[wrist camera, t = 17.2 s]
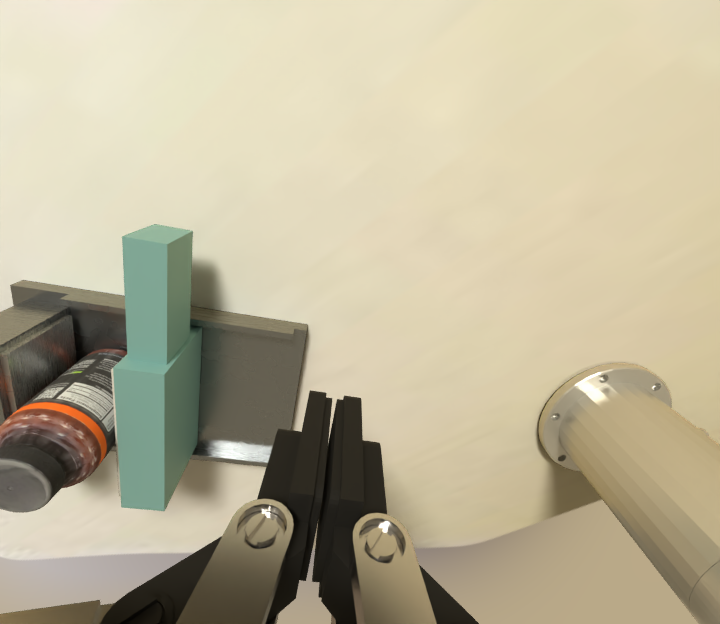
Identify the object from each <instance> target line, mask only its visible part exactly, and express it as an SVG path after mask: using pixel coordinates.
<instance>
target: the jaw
mask: <svg viewBox="0 0 720 624" xmlns="http://www.w3.org/2000/svg"><path fill="white" fill-rule="evenodd" d="M192 237H193V231H190V230H184V229H179V228H173V227H168V226H162V225H157V224H154V225H151V226H149V227H146V228H143V229H141V230H138V231H135V232H133V233H130V234H127V235H125V236H122V242H123V265H124V288H125V311H126V334H127V355H126V356H125V357H124V358H123V359H122V360H121V361H120V362H119V363H117V364H116V365H115V366H114V367H113V368H112V369H111V376H112V392H113V408H114V423H115V439H116V455H117V470H118V486H119V496H121V507H123V508H135V509H146V510H158V511H165V509H166V507H167V505H168V503H169V501H170V499H171V497H172V495H173V493H174V490H175V488H176V486H177V484H178V482H179V480H180V478H181V476H182V474H183V472H184V470H185V468H186V466H187V464H188V462H189V460H190V458H191V456H192V454H193V451H194V449H195V447H196V445H197V441H198V417H199V394H200V370H201V347H202V327H201V326H194V325H190V307H191V272H192Z"/></svg>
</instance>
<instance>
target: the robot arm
mask: <svg viewBox="0 0 720 624" xmlns="http://www.w3.org/2000/svg"><path fill="white" fill-rule="evenodd" d="M331 406H332V398H326V393H323V392H317V391H310V393H309V398H308V403H307V408H306V413H305V418H304V423H303V428H302V432H299V431H292V430H285V429H278V430H277V433H276V437H275V440H274V444H273V447H272V451H271V454H270V457H269V461H268V464H267V468H266V471H265V475H264V478H263V481H262V485H261V488H260V492H259V495H258V498H257V500H254V501H251V502H249V503H246V504H245V505H244V506H242V507H241V508H240V509H238V510H237V512H236V513H235V515H234V516H233V517H232V519H231V521H230V523H229V525H228V527H227V529H226V530H225V532H224V534H223V536H222V537H220V538H218V539H217V540H215V541H213V542H212V543H210V544H208V545H207V546H205V547H203V548H202V549H200V550H199V551H197V552H195V553H194V554H192V555H190V556H189V557H187V558H185V559H184V560H182V561H180V562H179V563H177V564H175V565H174V566H172V567H170V568H169V569H167V570H165V571H164V572H162V573H160V574H159V575H157V576H156V577H154V578H152V579H151V580H149V581H147V582H146V583H144V584H142V585H141V586H139V587H137V588H136V589H134V590H132V591H131V592H129V593H128V594H126V595H125V596H124V597H122V598H121V599H120V600H118V601H117V602H116V603H113V604H105V605H100V600H96V601H88V602H81V603H74V604H67V605H60V606H53V607H46V608H38V609H31V610H24V611H17V612H10V613H3V614H0V624H276V623H277V620H278V614H279V612H280V611H281V610H283V609H284V608H285V607H286V606H287V605H289V604H290V603H291V602H292V601H293V600H294V599H295V598H296V594H297V589H298V583H299V580H303V581H306V577H307V573H308V567H309V563H310V557H311V553H312V548H313V543H314V538H315V533H316V528H317V523H318V528H317V538H316V548H315V558H314V568H313V578H312V581H313V582H320V585H319V597H321V598H322V602H323V604H324V605H325V606H326V607H327V609H328V610H329V612H330V613H331V614H332V618H331V624H479V623H478V622H477V621H475V619H474V618H473V617H472V616H471V615H470V614H469V613H468V612H467V611H466V610H465V609H464V608H463V607H462V606H461V605H459V603H457V601H455V600H454V599H453V598H452V597H451V596H450V595H449V594H448V593H447V592H446V591H445V590H444V589H443V588H442V587H441V586H440V585H439V584H438V583H437V582H436V581H435V580H434V579H433V578H432V577H431V576H430V575H429V574H428V573H427V572H426V571H425V570H424V569H423V568H422V567H421V566H420V565H419V563H418V560H417V557H416V554H415V550H414V547H413V544H412V540H411V538H410V535H409V533H408V531H407V530H406V528H405V527H404V526H403V525H402V523H400V522H399V521H398V520H396V519H395V518H394V517H391V516H389V515H387V509H386V498H385V488H384V477H383V466H382V456H381V446H380V443H377V442H370V441H363V440H362V409H361V398H357V397H350V396H344V399H343V400H339V399H337V403H336V408H335V413H334V418H333V423H332V428H331V433H330V438H329V427H330V417H331ZM539 437H540V441H541V444H542V446H543V448H544V449H545V451H546V452H547V453H548V455H549V456H550V458H551V459H552V460H553V461H555V462H556V463H557V464H559V465H561V466H563V467H564V468H567V469H570V470H574V471H581V472H582V473H583V475H584V476H585V477H586V479H587V480H588V481H589V483H590V484H591V485H592V486H593V488H594V489H595V490H596V492H597V493H598V494H599V495H600V497H601V498H602V499H603V501H604V502H605V503H606V505H608V507H609V508H610V510H611V511H612V512H613V514H614V515H615V516H616V517H617V519H618V520H619V521H620V523H621V524H622V525H623V527H624V528H625V529H626V530H627V532H628V533H629V534H630V536H631V537H632V538H633V539H634V541H635V542H636V543H637V545H638V546H639V547H640V548H641V550H642V551H643V552H644V554H645V555H646V556H647V558H648V559H649V560H650V561H651V563H652V564H653V565H654V567H655V568H656V569H657V571H658V572H659V573H660V574H661V576H662V577H663V578H664V580H665V581H666V582H667V583H668V585H669V586H670V587H671V589H672V590H673V591H674V593H675V594H676V595H677V596H678V598H679V599H680V600H681V602H682V603H683V604H684V605H685V607H686V608H687V609H688V610H689V612H690V613H691V615H692V616H693V617H694V618H695V619H696V621H697V622H698V623H699V624H720V445H719V444H718V443H717V442H715V441H714V440H713V439H711V438H710V437H709V434H708V432H707V431H706V430H704V429H702V428H697V427H695V426H694V425H693V424H691V423H690V422H689V421H688V420H686V419H685V418H684V417H682V416H681V415H680V414H678V413H677V412H676V411H674V410H673V409H672V398H671V394H670V391H669V389H668V387H667V386H666V384H665V382H664V381H663V380H661V379H660V378H659V377H658V376H657V375H655V374H654V373H652V372H651V371H649V370H648V369H646V368H643V367H641V366H638V365H634V364H628V363H612V364H607V365H601V366H598V367H595V368H592V369H589V370H587V371H585V372H583V373H581V374H579V375H577V376H575V377H573V378H572V379H571V380H569V381H568V382H566V383H565V384H564V385H563V386H562V387H561V388H559V389H558V390H557V391H556V392H555V393H554V395H553V396H552V397H551V399H550V400H549V401H548V402H547V404H546V406H545V408H544V410H543V412H542V415H541V418H540V421H539ZM328 438H329V443H328ZM327 448H328V449H327Z"/></svg>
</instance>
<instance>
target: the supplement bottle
mask: <svg viewBox="0 0 720 624" xmlns="http://www.w3.org/2000/svg"><path fill="white" fill-rule="evenodd" d="M126 355H127V352H126V351H124V350H119V349H100V350H97V351H94V352H92V353H90V354H88V355H87V356H85V357H83V358H82V359H81V360H79V361H78V362H77V363H76V364H75V365H73V366H72V367H71V368H69V369H68V370H67V371H66V372H64V373H63V374H62V375H61V376H59V377H58V378H57V379H56V380H54V381H53V382H52V383H51V384H49V385H48V386H47V387H46V388H44V389H43V390H42V391H41V392H39V393H38V394H37V395H36V396H34V397H33V398H32V399H31V400H29V401H28V402H27V403H26V404H24V405H23V406H22V407H21V408H19V409H18V410H17V411H16V412H14V413H13V414H12V415H11V416H10V417H8V418H7V419H6V420H5V421H4V422H3V423H2V425H1V426H0V509H3V510H7V511H11V512H30V511H35V510H38V509H40V508H42V507H43V506H45V505H46V504H47V503H48V502H49V501H50V500H51V498H52V497H53V496H54V495H55V494H56V493H57V492H58V491H59V490H60V489H61V488H65V487H69V486H73V485H75V484H77V483H80V482H81V481H83V480H84V479H86V478H87V477H88V476H90V475H91V474H92V473H93V472H94V471H95V469H96V468H97V467H98V466H99V464H100V463H101V462H102V460H103V459H104V458H105V457H106V455H107V454H108V453H109V451H110V450H111V449H112V447H113V446H114V445H115V444H116V439H115V423H114V408H113V392H112V376H111V369H112V368H113V367H114V366H115V365H116V364H117V363H119V362H120V361H121V360H122V359H123V358H124V357H125V356H126Z"/></svg>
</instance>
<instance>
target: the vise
mask: <svg viewBox="0 0 720 624" xmlns="http://www.w3.org/2000/svg"><path fill="white" fill-rule="evenodd" d="M10 286H11V292H12V298H13V304H14V306H12V307H10V308H8V309H6V310H4V311H2V312H0V426H1V425H2V423H3V422H4V421H5V420H6V419H7V418H8V417H10V416H11V415H12V414H13V413H14V412H16V411H17V410H18V409H19V408H21V407H22V406H23V405H24V404H26V403H27V402H28V401H29V400H31V399H32V398H33V397H34V396H36V395H37V394H38V393H39V392H41V391H42V390H43V389H44V388H46V387H47V386H48V385H49V384H51V383H52V382H53V381H54V380H56V379H57V378H58V377H59V376H61V375H62V374H63V373H64V372H66V371H67V370H68V369H69V368H71V367H72V366H73V365H75V364H76V363H77V362H78V361H79V360H81V359H82V358H83V357H85V356H87V355H88V354H90V353H92V352H94V351H97V350H100V349H119V350H124V351H126V352H127V334H126V311H125V296H122V295H115V294H109V293H103V292H96V291H90V290H83V289H77V288H71V287H64V286H58V285H51V284H45V283H39V282H32V281H26V280H22V281H20V282H17V283H14V284H12V285H10ZM190 325H194V326H201V327H202V347H201V370H200V394H199V417H198V441H197V445H196V447H195V449H194V451H193V454H192V456H191V458H190V459H197V460H206V461H216V462H225V463H235V464H244V465H254V466H263V467H267V464H268V461H269V457H270V454H271V451H272V447H273V444H274V440H275V437H276V433H277V430H278V429H285V430H291V426H292V420H293V413H294V407H295V401H296V395H297V389H298V382H299V376H300V370H301V364H302V358H303V352H304V345H305V339H306V333H307V327H308V325H307V324H301V323H294V322H288V321H282V320H275V319H269V318H262V317H256V316H250V315H243V314H237V313H230V312H224V311H218V310H211V309H205V308H198V307H192V306H191V307H190ZM111 451H116V444H115V445H114V446H113V447H112V449H111Z"/></svg>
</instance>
